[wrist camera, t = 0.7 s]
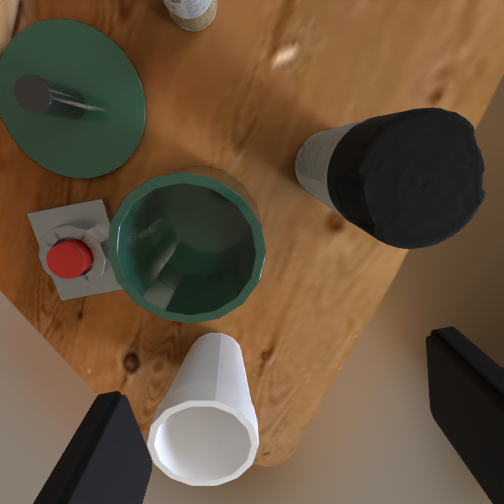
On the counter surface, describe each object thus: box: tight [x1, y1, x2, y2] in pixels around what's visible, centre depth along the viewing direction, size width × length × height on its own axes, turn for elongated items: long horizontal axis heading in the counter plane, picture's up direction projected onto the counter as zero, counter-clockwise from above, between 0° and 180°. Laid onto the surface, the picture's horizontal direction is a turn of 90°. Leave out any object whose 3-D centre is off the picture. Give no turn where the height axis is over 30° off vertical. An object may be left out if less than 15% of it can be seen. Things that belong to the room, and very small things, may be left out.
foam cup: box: [147, 333, 259, 486], centre depth 35 cm, size 10×9×13 cm
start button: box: [46, 240, 92, 279], centre depth 33 cm, size 4×4×2 cm
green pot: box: [107, 166, 266, 324], centre depth 32 cm, size 13×13×10 cm
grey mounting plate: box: [27, 197, 123, 301], centre depth 35 cm, size 10×8×3 cm
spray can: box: [295, 108, 486, 249], centre depth 25 cm, size 7×7×20 cm
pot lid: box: [0, 19, 147, 178], centre depth 29 cm, size 14×14×7 cm
